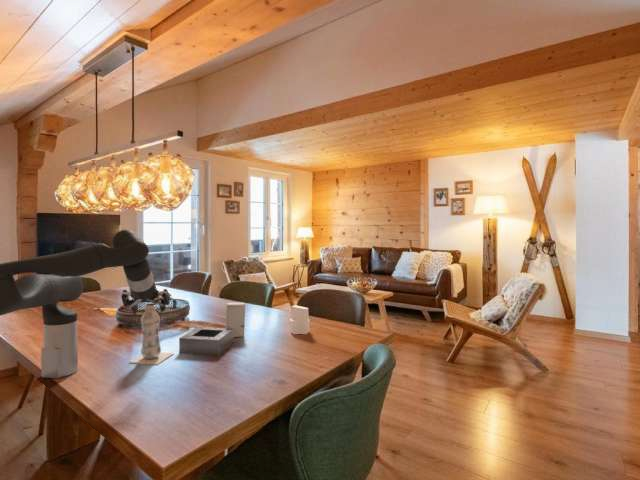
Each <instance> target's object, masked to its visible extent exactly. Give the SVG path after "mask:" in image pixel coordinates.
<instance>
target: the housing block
mask: <svg viewBox="0 0 640 480" xmlns="http://www.w3.org/2000/svg"><path fill="white" fill-rule="evenodd" d="M234 338H235V337H234V329H230V328H226V327H211V326H210V327H208V326H207V327H205V326H198V327H196V328H193V330H190V331H189V332H187V333H186V334H184V335H182V336H181V337H179V340H178V341H179V342H178V344H179V349H178V350H179V351H178V352H179V354H187V355H203V356H217V357H219V356H220V355H221V354H222V353H223V352H224V351H227V349H228V348H229V347H231V345H232V343H234V342H235V341H234V340H235V339H234Z"/></svg>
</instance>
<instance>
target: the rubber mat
mask: <svg viewBox="0 0 640 480" xmlns="http://www.w3.org/2000/svg"><path fill="white" fill-rule="evenodd" d="M174 355H175V353H174V352H160V355H159V356H158V357H156V358H153V359H145V358H143V356H142V354H141V355H139V356H137V357H136V358H134V359H132V360H130V361H128V364H135V365H137V364H138V365H154V366H155V365H156V366H158V365H160V364H161V363H163V362H165V361H166V360H167V359H168V358H171V357H172V356H174Z"/></svg>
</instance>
